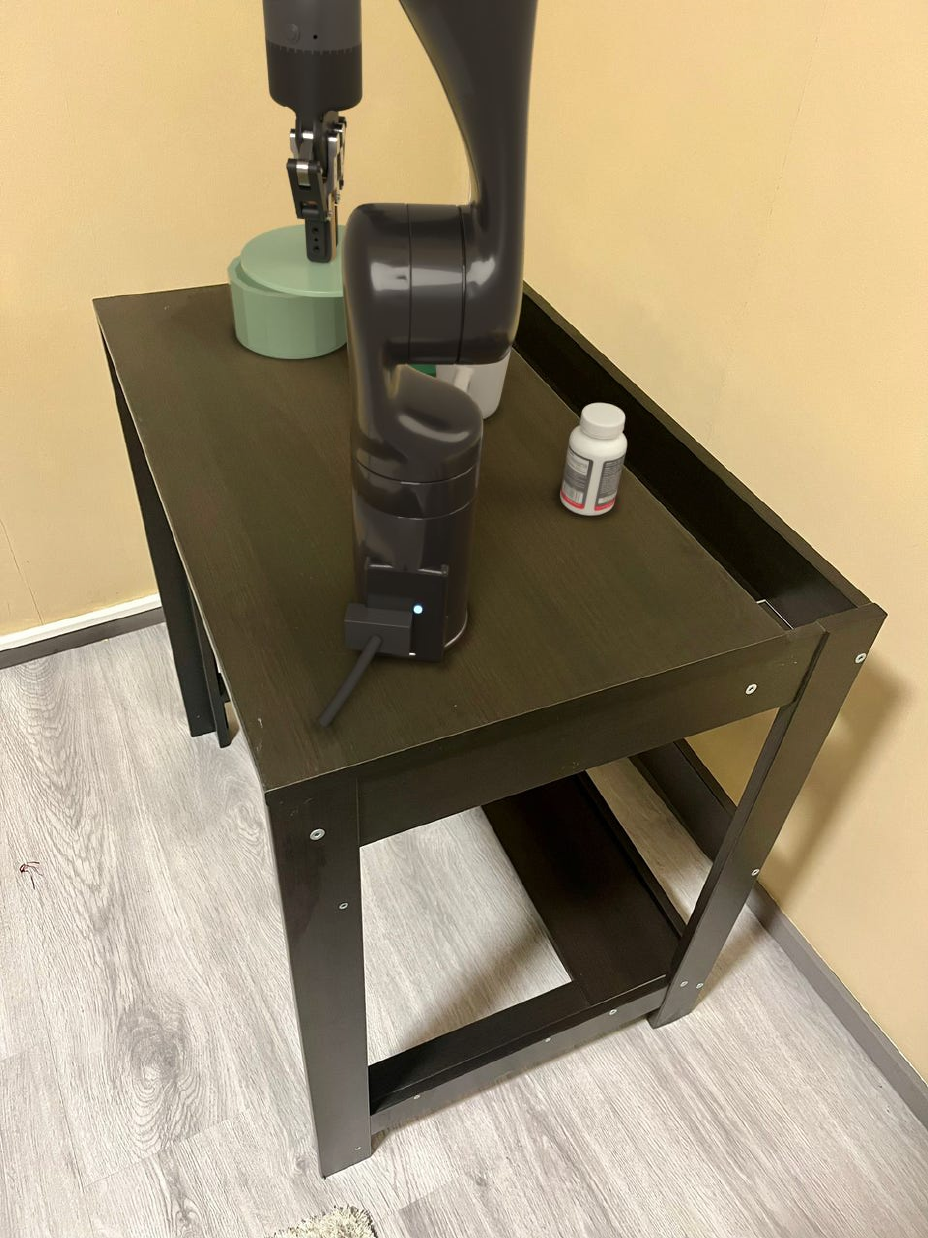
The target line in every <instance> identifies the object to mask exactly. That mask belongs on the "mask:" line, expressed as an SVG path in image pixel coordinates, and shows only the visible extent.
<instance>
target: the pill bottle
mask: <svg viewBox="0 0 928 1238" xmlns="http://www.w3.org/2000/svg"><path fill="white" fill-rule="evenodd" d="M625 422H626V415H625V413H624V411H623V410H622V409H621V408H620V407H617V406H616V405H614V404H610V403H605V402H594V403H590V404H587V405H585V406H584V407H583V409H582V410H581V414H580V419H579V425H577V426H576V427H575V428H574V429H573V430H572V431H571V433H570V436H569V439H568V445H567V450H566V456H565V463H564V468H563V474H562V480H561V486H560V493H559V496H560V497H559V498H560V501H561V503H562V504H563V506H564V507H565V508H567V509H568V510H570V511H571V512H573V513H576V514H578V515H581V516H587V517H588V516H590V517H593V516H600V515H603V514H605V513H607V512H609V511H610V510H611V509H612V508H613V507H614V505H615V502H616V498H617V494H618V488H619V484H620V479H621V476H622V472H623V471H622V470H623V466H624V462H625V458H626V453H627V450H628V449H627V448H628V440H627V438H626V436H625V434H624V433H623V431H624V430H625Z"/></svg>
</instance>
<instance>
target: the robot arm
mask: <svg viewBox="0 0 928 1238" xmlns="http://www.w3.org/2000/svg"><path fill="white" fill-rule="evenodd" d="M261 1H262V15H263V27H264V42H265V54H266V55H265V57H266V68H267V69H266V70H267V71H266V72H267V81H268V93H269V96H270V98H271V99H272V101H273V102H275V104H277V105H279V106H281V107H283V108H288V109H289V110H291V111H292V112H293V113H294V114H295V119H294V128H292V127H291V128H290V130H289V149H290V152H291V153H292V155H293V156H292V157H288V158H287V161H286V163H285V164H286V165H285V168H286V171H287V177H288V182H289V185H290V191H291V196H292V200H293V206H294V210H295V216H296V218H297V220H304V224H305V235H306V253H307V258H308V259H309V260H310V261H314V262H324V263H328V262H329V261H330V260H331V258H332V229H331V217H332V215H333V212H332V205H331V197H333V198H334V202H335V233H336V247H337V245H338V225H339V217H338V216H339V214H338V213H339V212H338V205H340V201H341V200H342V199H341V198H342V197H341V195H342V194H340V191H343V188H344V186H345V180H344V173H345V150H346V133H347V132H346V131H347V127H348V121H347V119H346V116H342V115H340V114H339V112H344V111H348V110H351V109H354V108H355V107H356V106H358V105H359V104H360V103H361V101H362V100H363V31H362V30H363V20H362V19H363V18H362V16H363V15H362V14H363V13H362V11H363V9H362V8H363V7H362V0H261ZM397 1H398V3H399V4H400V6H401V9H402V11H403V13H405V16H406V18H407V20H408V22H409V23H410V25H411V27H412V30H413V31H414V33H415V35H416V37H417V39H418V40H419V42H420V44H421V47H422V48H423V50H424V52H425V54H426V56H427V57H428V60H429V62H430V65H431V66H432V68H433V70H434V73H435V74H436V77H437V79H438V81H439V83H440V85H441V88H442V91H443V94H444V96H445V98H446V100H447V104H448V105H449V108H450V111H451V113H452V116H453V118H454V121H455V123H456V127H457V129H458V131H459V136H460V138H461V141H462V144H463V149H464V153H465V158H466V163H467V167H468V173H469V181H470V183H469V184H470V195H469V196H470V197H469V201H468V203H467V204H457V205H456V204H451V203H420V202H419V203H418V202H417V203H416V202H415V203H413V202H406V203H405V202H366V203H361V204H358V205H357V206H356V207H355V208H354V209H353V210H352V211H351V213H350V214H349V216H348V219H347V221H346V224H345V225H344V226H345V230H344V234H343V241H342V256H341V276H342V292H343V305H344V315H345V327H346V338H347V342H346V349H347V361H348V374H349V375H348V376H349V400H350V401H349V446H350V447H349V449H350V451H349V452H350V453H349V454H350V495H351V496H350V497H351V499H350V501H351V502H350V503H351V532H352V533H351V535H352V536H351V538H352V573H353V574H352V575H353V576H352V577H353V579H352V580H353V602H348V603H347V607H346V610H345V615H344V619H343V626H344V627H343V628H344V629H343V631H344V649H345V650H354V651H361V653H359V656H358V657H357V659H356V661H355V663H354V665H352V667H351V669H350V670H349V673H348V674H347V676H346V678H345V679H344V681H343V682H342V684H341V686H340V687H339V688H338V689H337V691H336V692H335V694H334V696H333V697H332V699H331V700H330V701H329V703H328V704H327V706H326V707H325V708H324V710H323V711H322V713H321V714H320V715H319V716H318V718H317V720H316V722H317V723H318V724H320V726H322V727H324V728H326V729H327V728H328V727H329V726H330V725H331V723H332V722H333V720H334V719H335V718H336V716H337V715H338V714H339V712H340V711H341V709H342V708H343V706H344V705H345V703H346V702H347V700H349V697H350V696H351V694H352V693H353V691H354V690H355V689H356V687H357V685H358V684H359V682H360V680H361V678H362V677H363V675H364V674H365V672H366V670H367V669H368V667H369V665H370V663H371V662H372V660H373V659H374V656H376V657H387V658H394V659H400V660H415V661H423V662H433V663H441V662H442V661H443V660H444V659H443V657H444V654H445V652H447V651H448V650H450V649H451V648H453V647H454V646H455V645H456V644H457V643H458V642H459V641H460V640H461V639H462V637H463V636H464V634H465V631H466V629H467V624H468V602H469V601H468V600H469V590H470V578H471V570H472V569H471V568H472V558H473V547H474V537H475V536H474V535H475V527H476V516H477V506H478V505H477V504H478V496H479V487H480V475H481V468H482V467H481V465H482V456H483V445H484V435H485V420H484V419H483V416H482V412H481V410H480V408H479V406H478V405H477V403H476V402H475V401H474V400H473V398H472V397H471V396H469V395H468V394H467V393H466V392H464V391H463V390H461V389H460V388H458V387H456V386H455V385H452V384H450V383H448V382H446V381H443V380H441V379H438V378H435V377H432V376H430V375H428V374H425V373H423V372H421V371H419V370H417V369H415V368H413V367H411V366H410V365H454V364H455V365H485V364H493V363H497V362H500V361H501V360H503V359H504V358H505V357H506V356H507V355H508V353H509V352H510V350H511V351H512V347H513V345H514V343H515V340H516V336H517V333H518V328H519V323H520V317H521V310H522V302H523V301H522V300H523V289H524V287H523V286H524V267H525V248H526V247H525V245H526V217H527V216H526V213H527V211H526V210H527V184H528V183H527V180H528V155H529V154H528V153H529V125H530V124H529V123H530V102H531V85H532V84H531V83H532V73H533V72H532V71H533V58H534V50H535V49H534V47H535V39H536V37H535V36H536V28H537V20H538V19H537V18H538V8H539V0H397ZM309 201H312V202H315V203H317V205H314V204H309ZM510 353H511V352H510Z"/></svg>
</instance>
